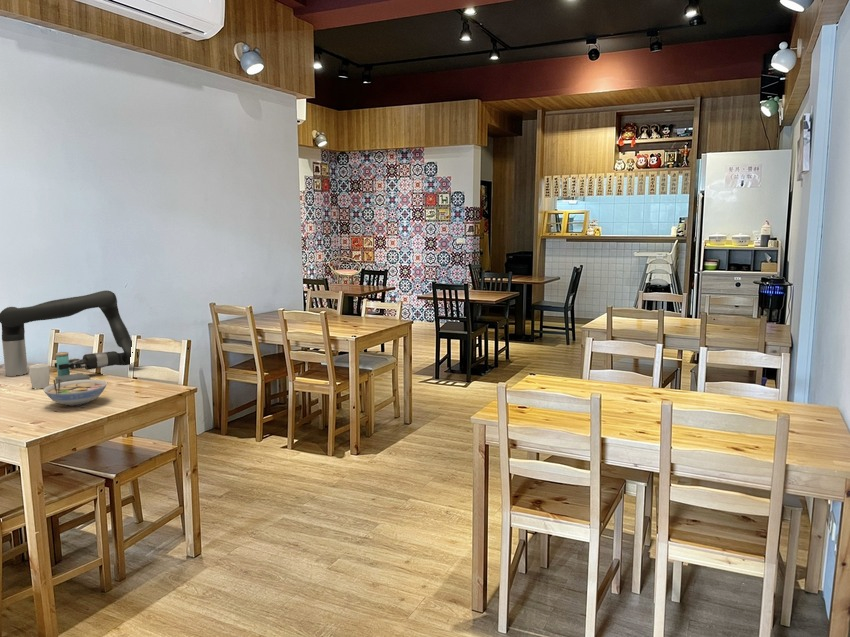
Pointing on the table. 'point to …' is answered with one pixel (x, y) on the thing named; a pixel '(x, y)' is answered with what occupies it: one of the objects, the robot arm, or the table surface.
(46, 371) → the white cup
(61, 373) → the tea canister
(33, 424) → the table surface
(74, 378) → the slate plinth
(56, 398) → the ramen bowl
